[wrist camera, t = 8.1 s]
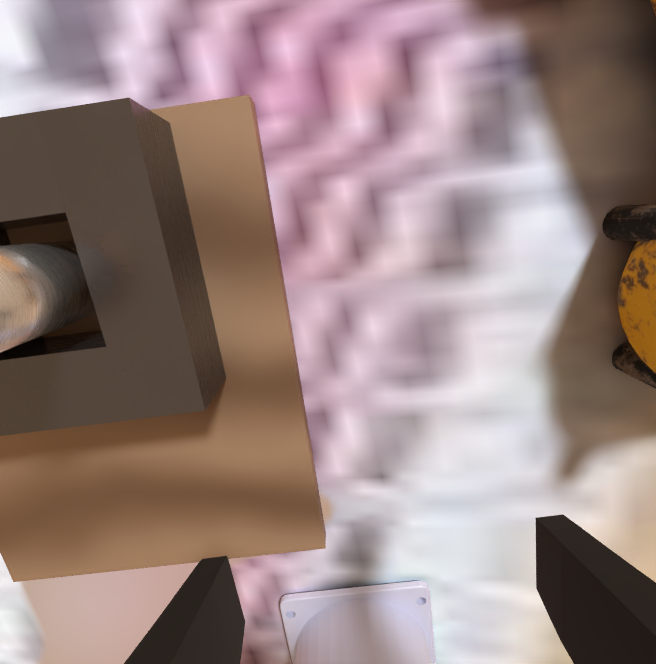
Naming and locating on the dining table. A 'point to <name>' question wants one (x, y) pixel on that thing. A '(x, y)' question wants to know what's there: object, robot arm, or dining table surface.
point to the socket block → (109, 270)
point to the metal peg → (40, 290)
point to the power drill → (636, 288)
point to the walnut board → (189, 428)
